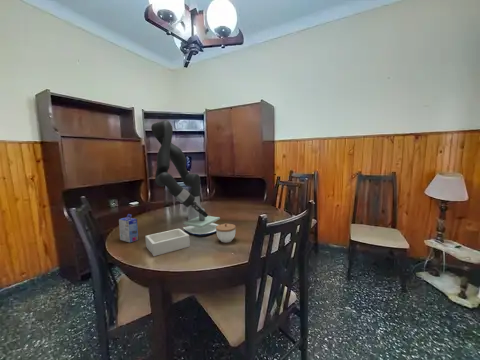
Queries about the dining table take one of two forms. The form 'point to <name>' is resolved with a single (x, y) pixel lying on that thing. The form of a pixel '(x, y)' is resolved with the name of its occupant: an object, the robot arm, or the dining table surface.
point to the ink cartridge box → (128, 229)
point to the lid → (201, 220)
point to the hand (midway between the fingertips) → (206, 215)
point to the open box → (167, 241)
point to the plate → (201, 229)
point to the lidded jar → (226, 232)
